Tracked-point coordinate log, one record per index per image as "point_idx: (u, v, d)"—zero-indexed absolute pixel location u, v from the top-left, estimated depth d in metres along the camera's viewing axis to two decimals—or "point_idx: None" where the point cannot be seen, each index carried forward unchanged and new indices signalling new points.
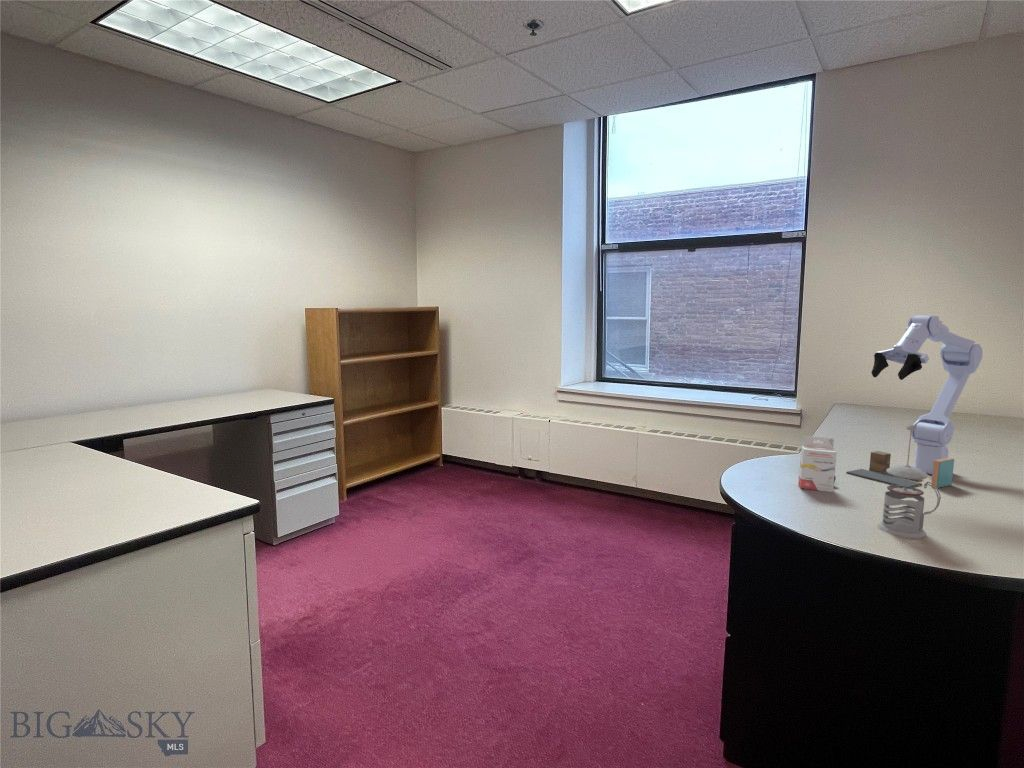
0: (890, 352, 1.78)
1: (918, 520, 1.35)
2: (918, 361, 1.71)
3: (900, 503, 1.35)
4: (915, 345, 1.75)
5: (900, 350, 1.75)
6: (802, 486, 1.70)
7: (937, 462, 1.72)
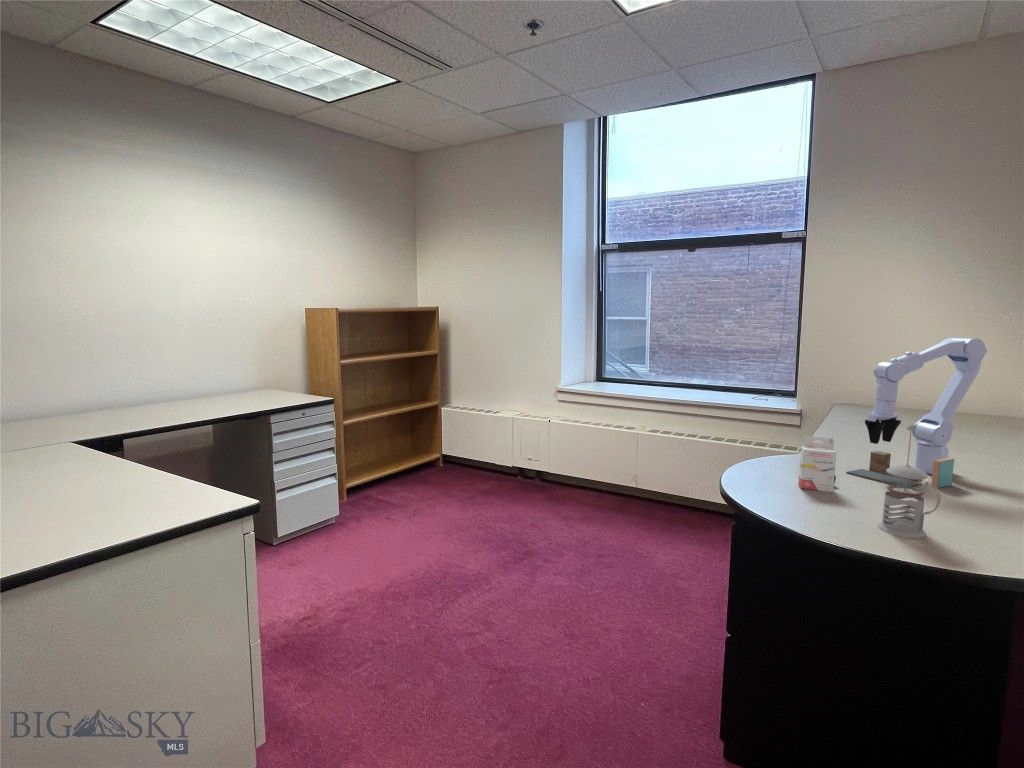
0: None
1: (918, 520, 1.35)
2: (871, 423, 1.85)
3: (900, 503, 1.35)
4: (877, 403, 1.87)
5: None
6: (802, 486, 1.70)
7: (937, 462, 1.72)
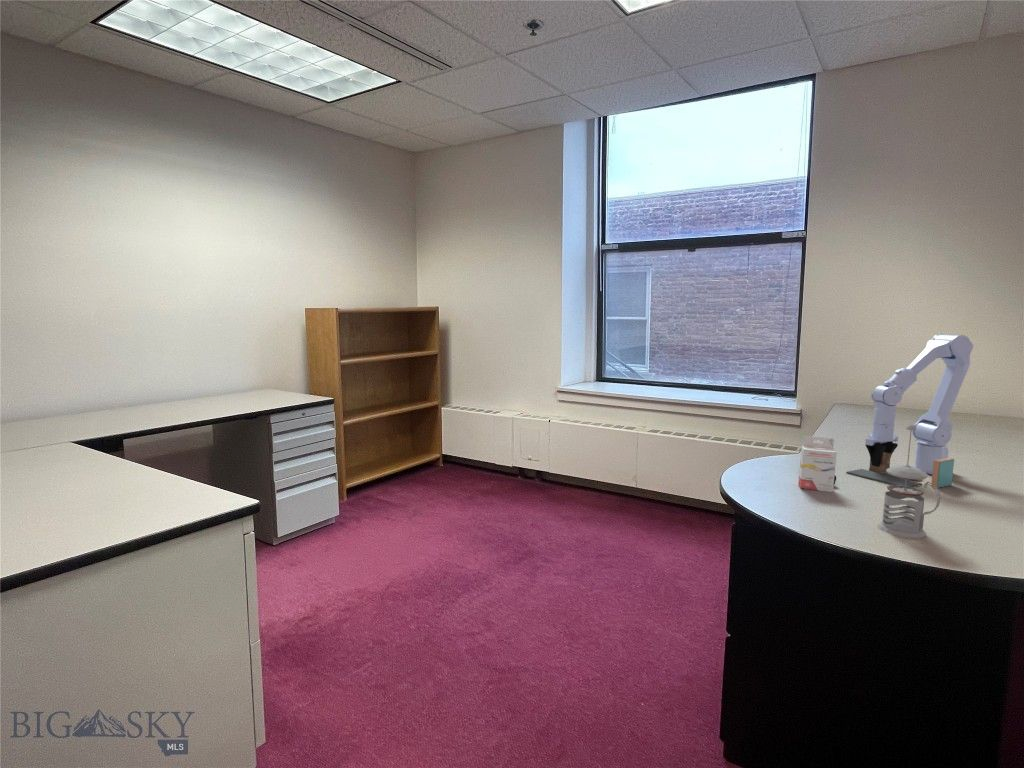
0: None
1: (918, 520, 1.35)
2: (872, 446, 1.88)
3: (900, 503, 1.35)
4: (875, 426, 1.88)
5: None
6: (802, 486, 1.70)
7: (937, 462, 1.72)
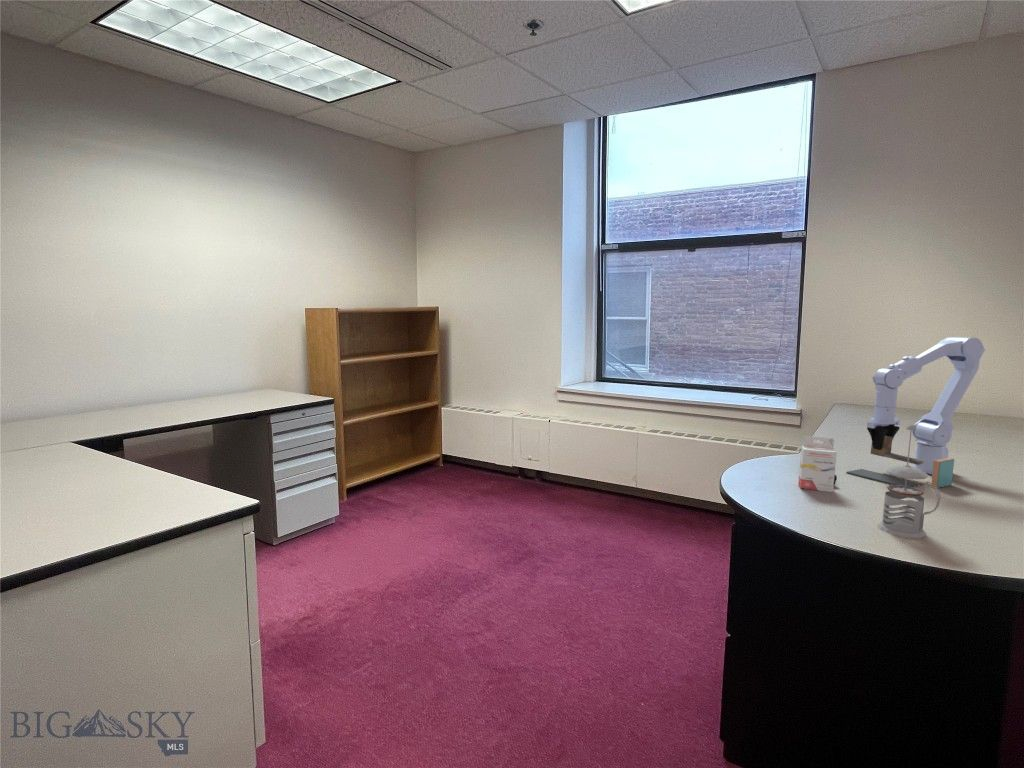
0: None
1: (918, 520, 1.35)
2: (873, 429, 1.87)
3: (900, 503, 1.35)
4: (877, 409, 1.88)
5: None
6: (802, 486, 1.70)
7: (937, 462, 1.72)
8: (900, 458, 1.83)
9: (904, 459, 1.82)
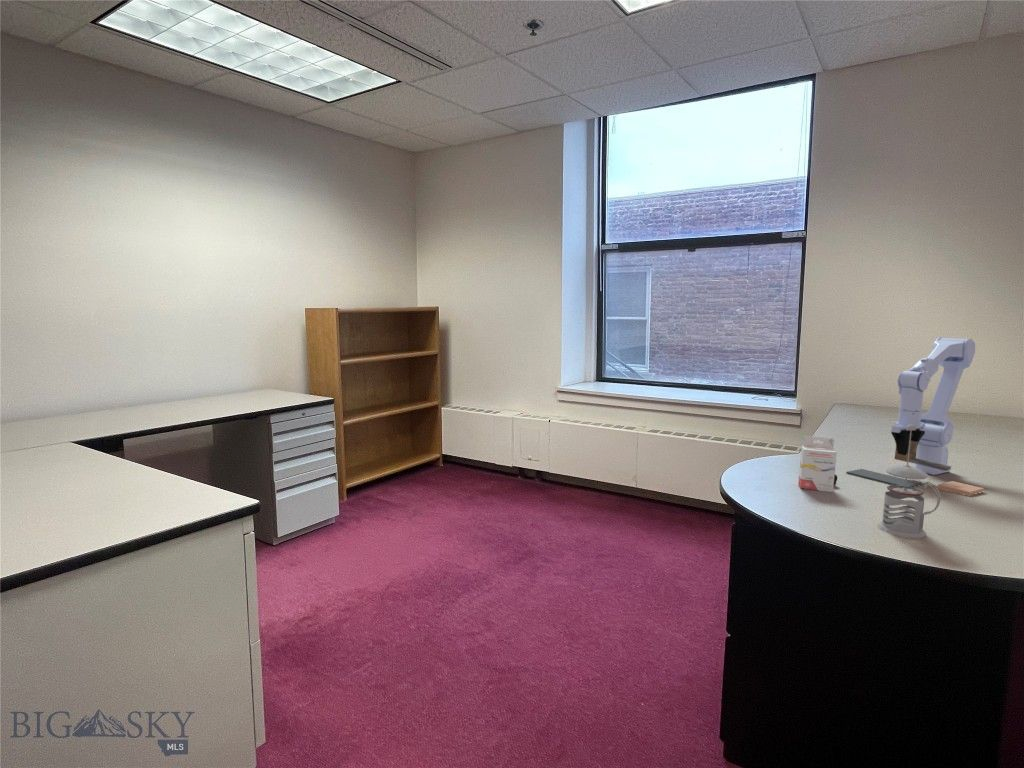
0: None
1: (918, 520, 1.35)
2: (898, 433, 1.81)
3: (900, 503, 1.35)
4: (901, 413, 1.81)
5: None
6: (802, 486, 1.70)
7: None
8: (926, 464, 1.77)
9: (930, 465, 1.76)
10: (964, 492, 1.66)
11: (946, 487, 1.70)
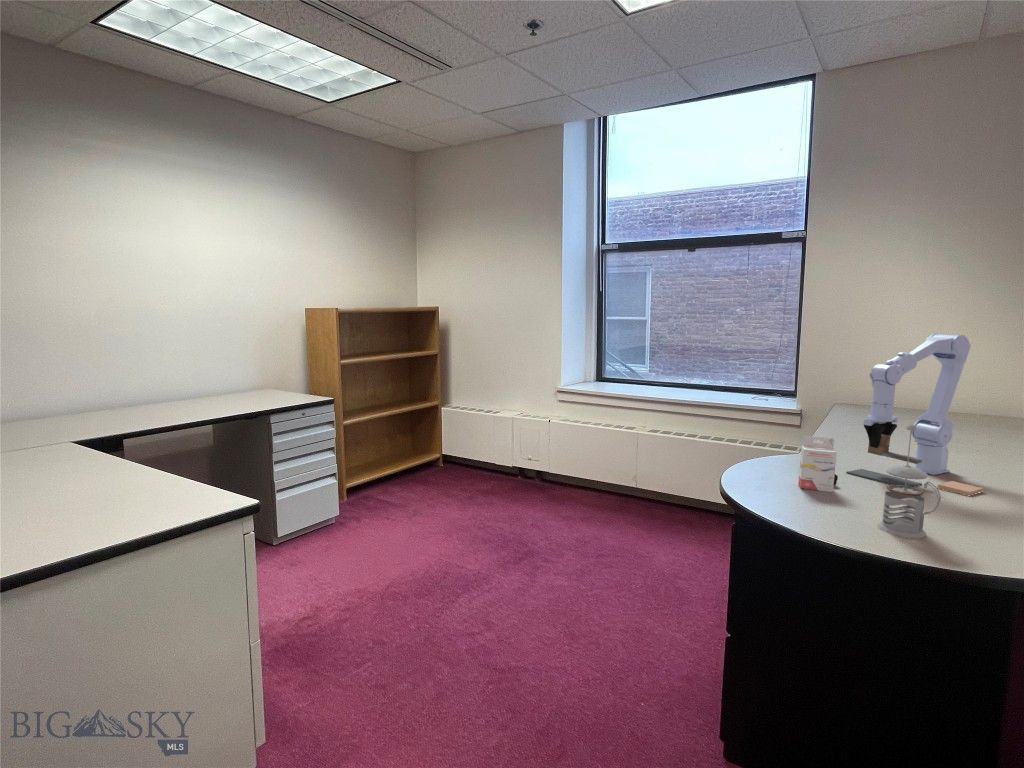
0: None
1: (918, 520, 1.35)
2: (870, 426, 1.82)
3: (900, 503, 1.35)
4: (874, 406, 1.83)
5: None
6: (802, 486, 1.70)
7: None
8: (898, 457, 1.78)
9: (902, 458, 1.77)
10: (964, 492, 1.66)
11: (946, 487, 1.70)
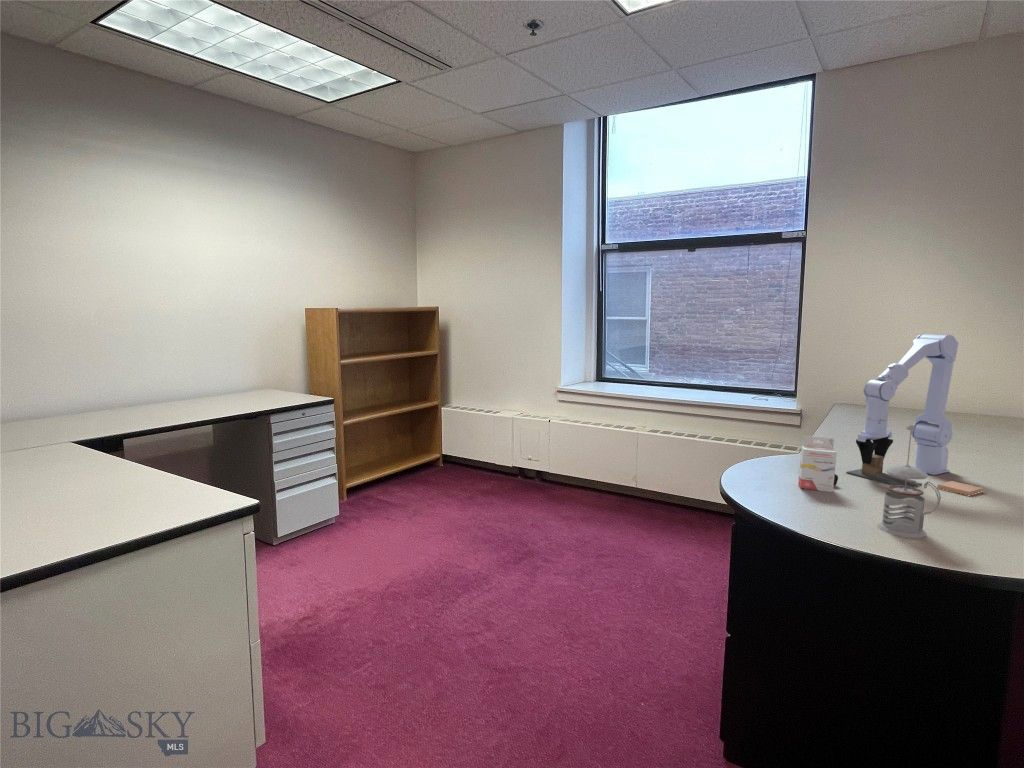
0: None
1: (918, 520, 1.35)
2: (862, 443, 1.81)
3: (900, 503, 1.35)
4: (868, 422, 1.82)
5: None
6: (802, 486, 1.70)
7: None
8: (892, 478, 1.77)
9: (896, 479, 1.76)
10: (964, 492, 1.66)
11: (946, 487, 1.70)
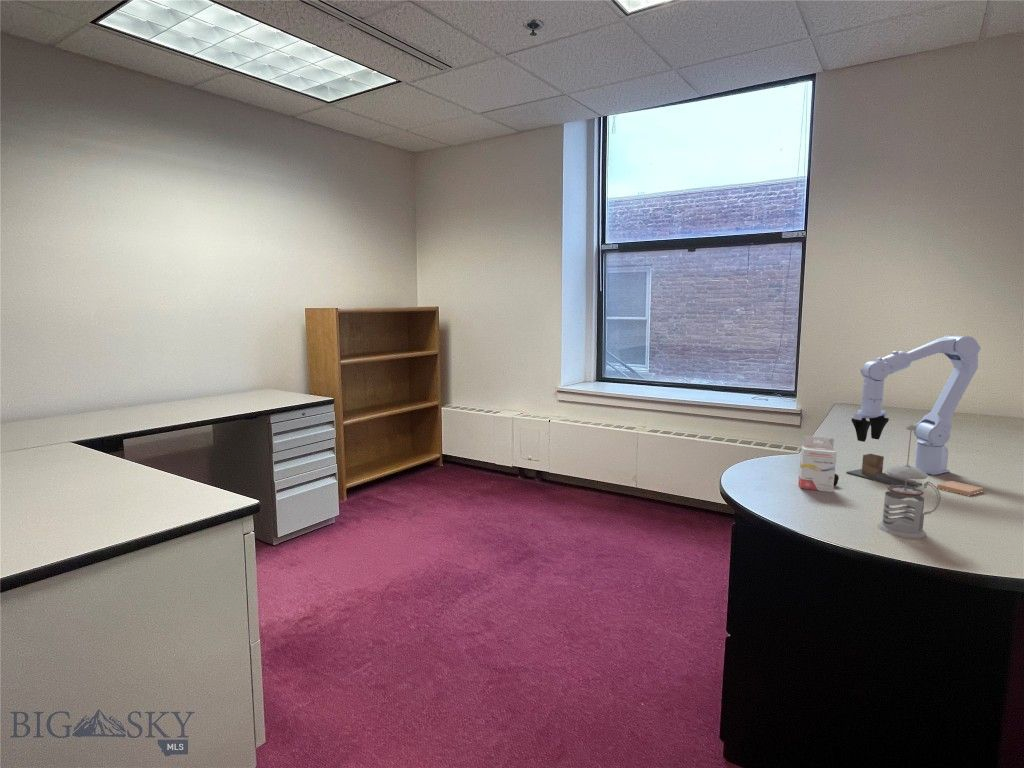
0: None
1: (918, 520, 1.35)
2: (857, 421, 1.89)
3: (900, 503, 1.35)
4: (864, 401, 1.91)
5: None
6: (802, 486, 1.70)
7: None
8: (892, 478, 1.77)
9: (896, 479, 1.76)
10: (964, 492, 1.66)
11: (946, 487, 1.70)
